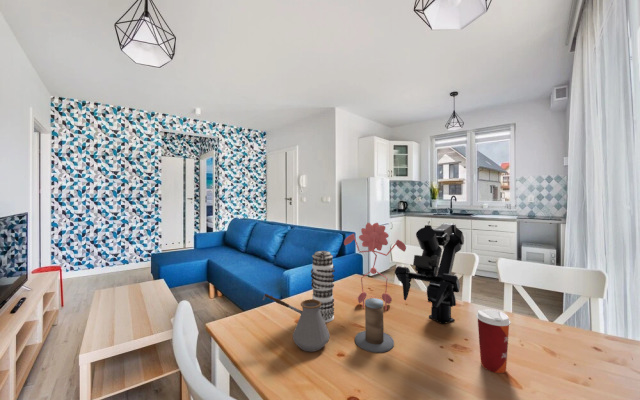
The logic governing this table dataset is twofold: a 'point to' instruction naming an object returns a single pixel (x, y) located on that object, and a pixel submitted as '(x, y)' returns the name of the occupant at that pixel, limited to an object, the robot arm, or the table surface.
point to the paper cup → (493, 339)
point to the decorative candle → (323, 283)
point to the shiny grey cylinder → (374, 321)
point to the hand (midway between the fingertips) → (419, 303)
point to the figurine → (372, 240)
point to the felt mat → (377, 348)
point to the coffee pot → (308, 325)
